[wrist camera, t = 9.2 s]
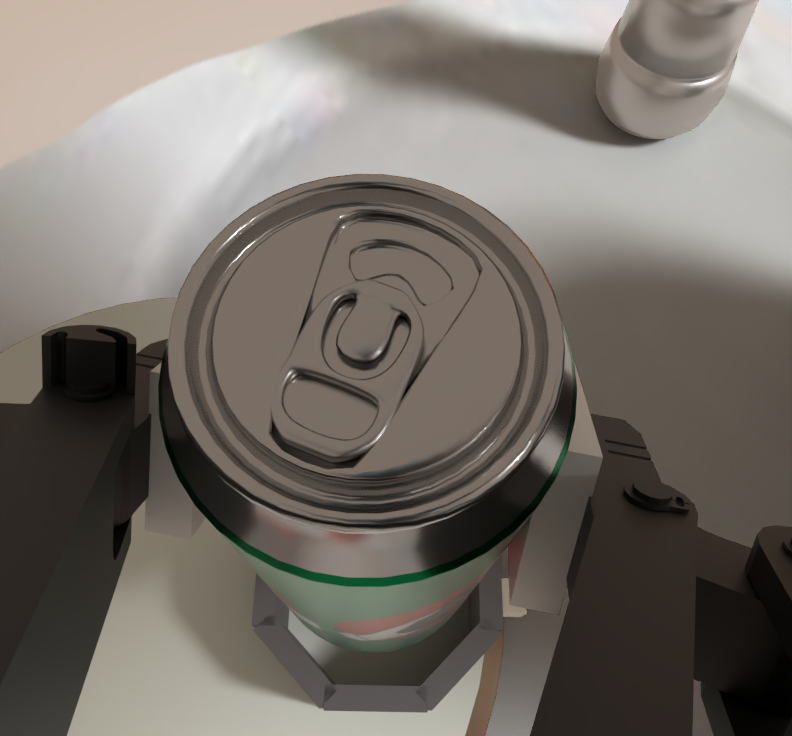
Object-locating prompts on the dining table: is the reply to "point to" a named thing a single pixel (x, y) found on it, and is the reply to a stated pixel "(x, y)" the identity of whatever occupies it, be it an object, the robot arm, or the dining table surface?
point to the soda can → (367, 399)
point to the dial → (250, 629)
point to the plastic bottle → (670, 63)
